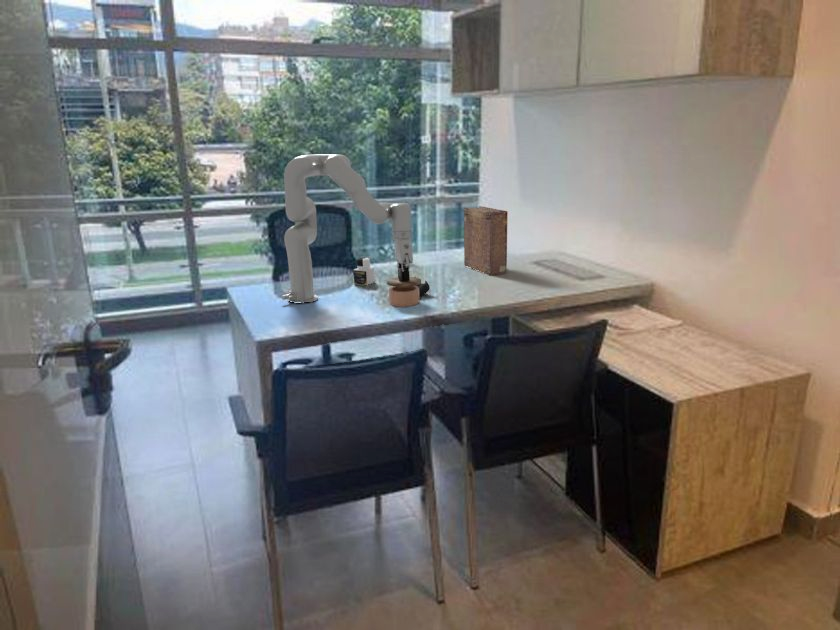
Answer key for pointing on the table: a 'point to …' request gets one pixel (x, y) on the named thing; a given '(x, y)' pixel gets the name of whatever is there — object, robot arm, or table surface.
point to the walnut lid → (400, 283)
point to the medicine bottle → (363, 272)
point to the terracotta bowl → (404, 296)
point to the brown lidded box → (485, 239)
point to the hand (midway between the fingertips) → (403, 279)
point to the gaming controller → (423, 288)
